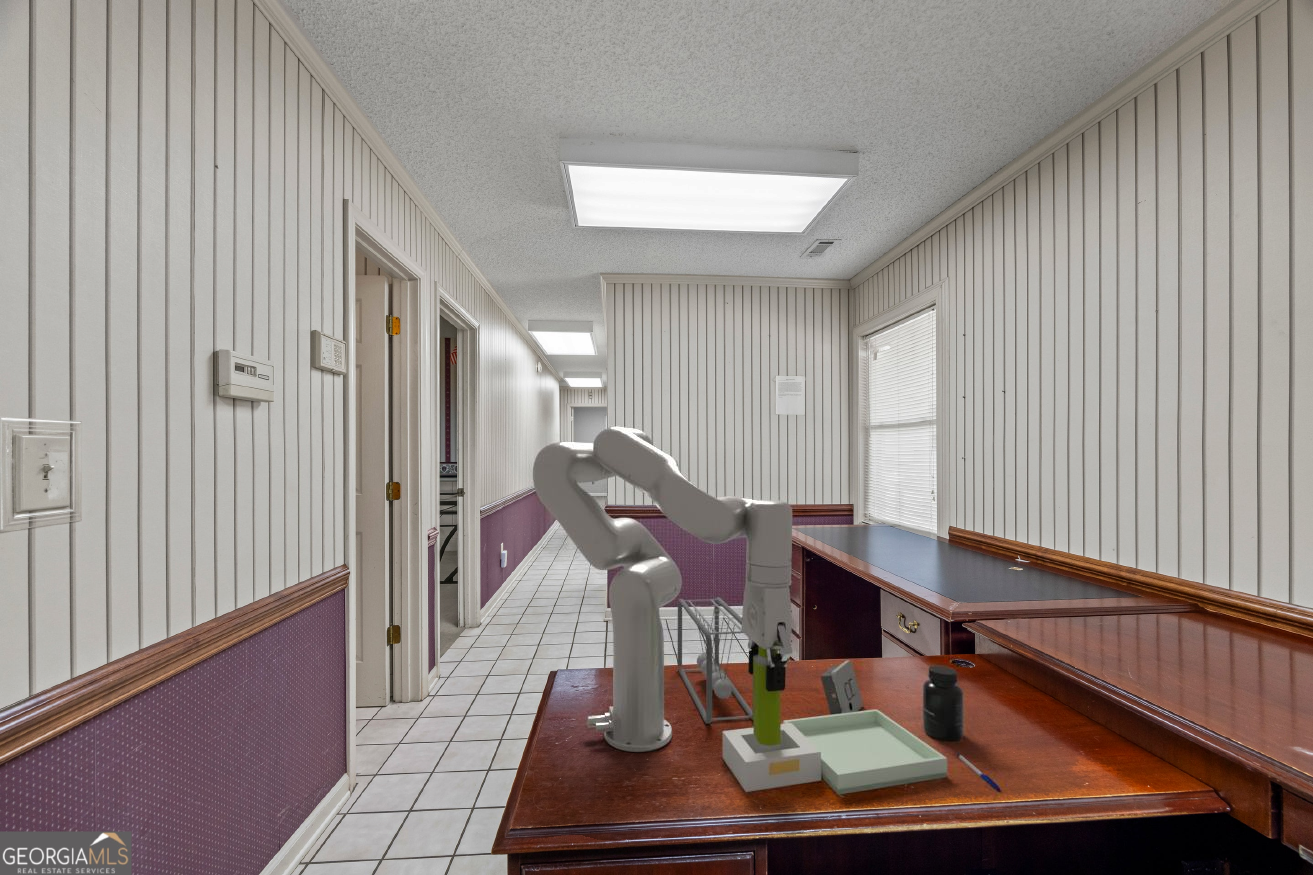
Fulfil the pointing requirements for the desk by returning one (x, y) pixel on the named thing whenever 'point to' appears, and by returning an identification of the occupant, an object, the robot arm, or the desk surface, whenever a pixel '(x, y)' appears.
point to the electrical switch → (842, 689)
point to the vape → (765, 703)
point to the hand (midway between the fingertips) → (766, 680)
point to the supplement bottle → (943, 705)
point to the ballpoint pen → (980, 773)
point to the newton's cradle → (710, 659)
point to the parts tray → (869, 751)
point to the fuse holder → (771, 759)
